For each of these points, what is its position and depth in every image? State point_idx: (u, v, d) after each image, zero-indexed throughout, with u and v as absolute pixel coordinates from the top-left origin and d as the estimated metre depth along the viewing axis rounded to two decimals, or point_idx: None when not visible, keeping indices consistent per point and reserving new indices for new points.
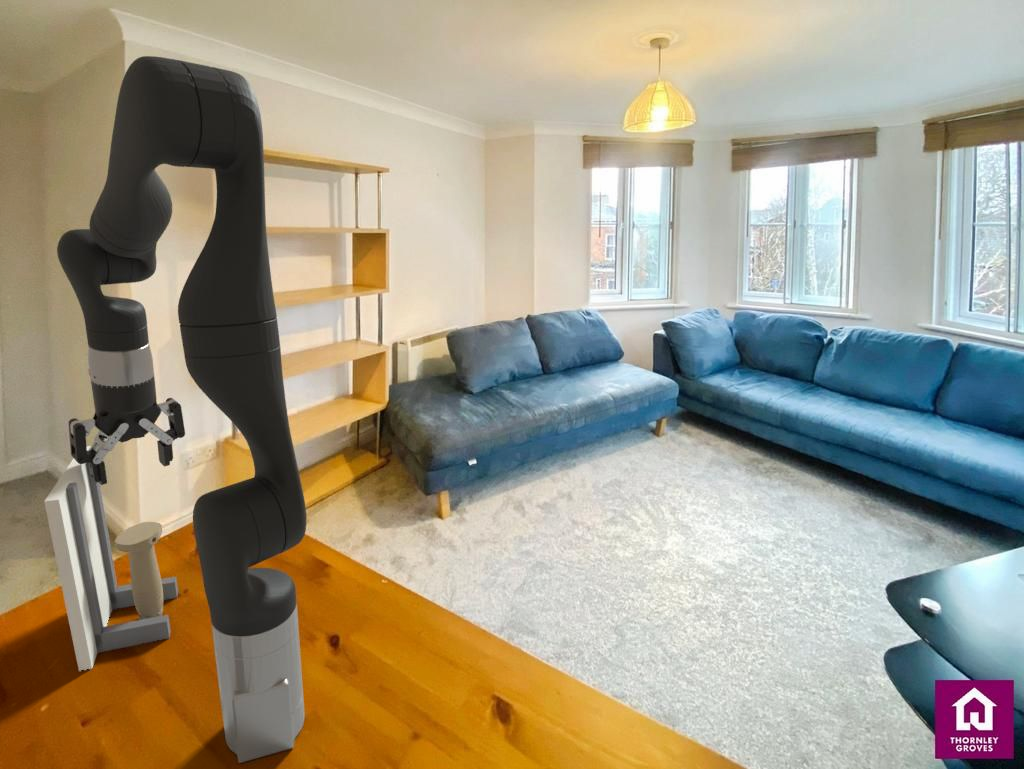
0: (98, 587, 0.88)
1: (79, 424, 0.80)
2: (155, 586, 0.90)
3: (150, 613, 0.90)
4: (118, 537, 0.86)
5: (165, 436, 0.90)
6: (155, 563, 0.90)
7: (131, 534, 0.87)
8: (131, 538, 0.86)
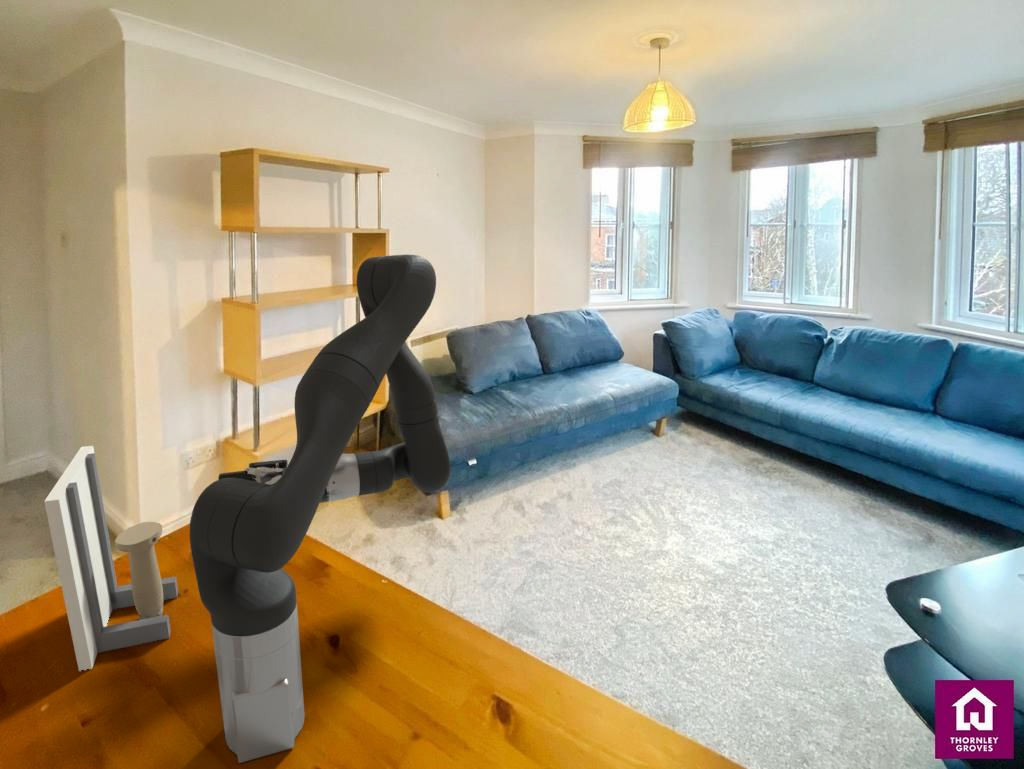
0: (98, 587, 0.88)
1: None
2: (155, 586, 0.90)
3: (150, 613, 0.90)
4: (118, 537, 0.86)
5: None
6: (155, 563, 0.90)
7: (131, 534, 0.87)
8: (131, 538, 0.86)
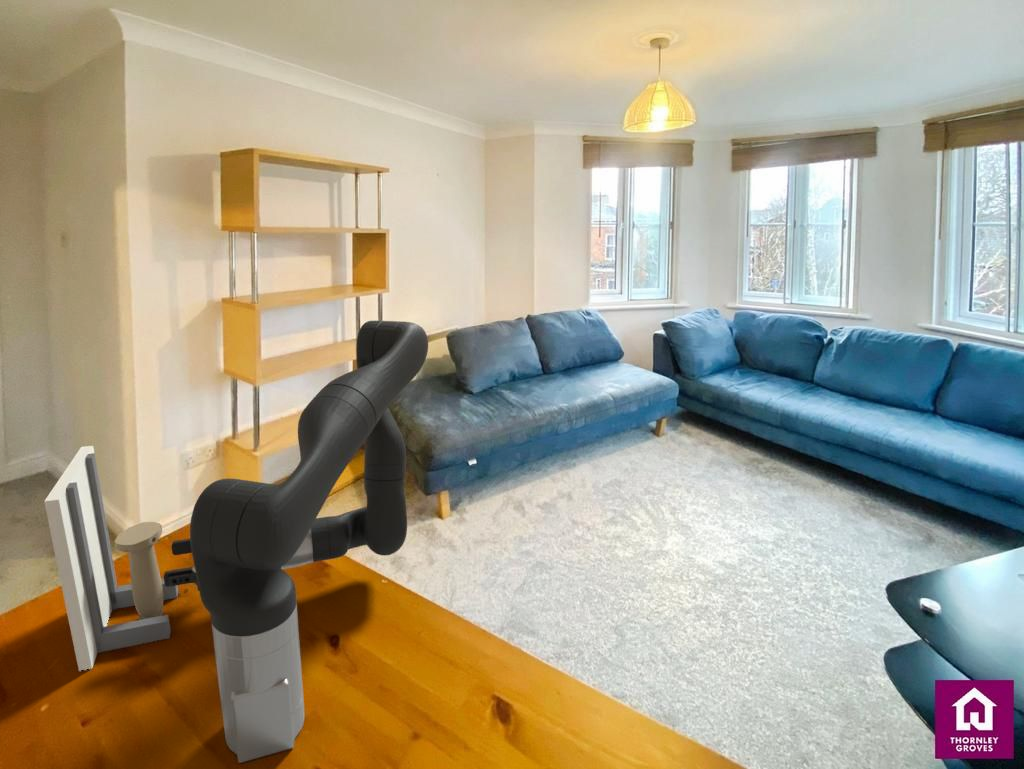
0: (98, 587, 0.88)
1: None
2: (155, 586, 0.90)
3: (150, 613, 0.90)
4: (118, 537, 0.86)
5: None
6: (155, 563, 0.90)
7: (131, 534, 0.87)
8: (131, 538, 0.86)
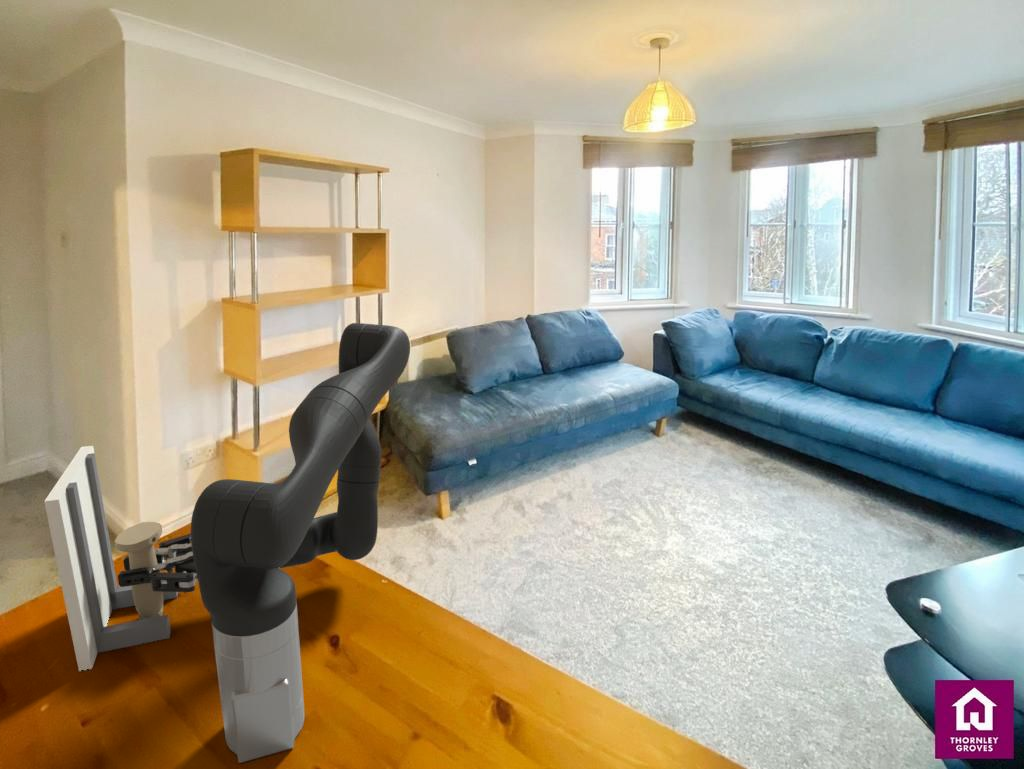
0: (98, 587, 0.88)
1: None
2: None
3: (150, 613, 0.90)
4: (118, 537, 0.86)
5: (160, 565, 0.88)
6: (155, 563, 0.90)
7: (131, 534, 0.87)
8: (131, 538, 0.86)
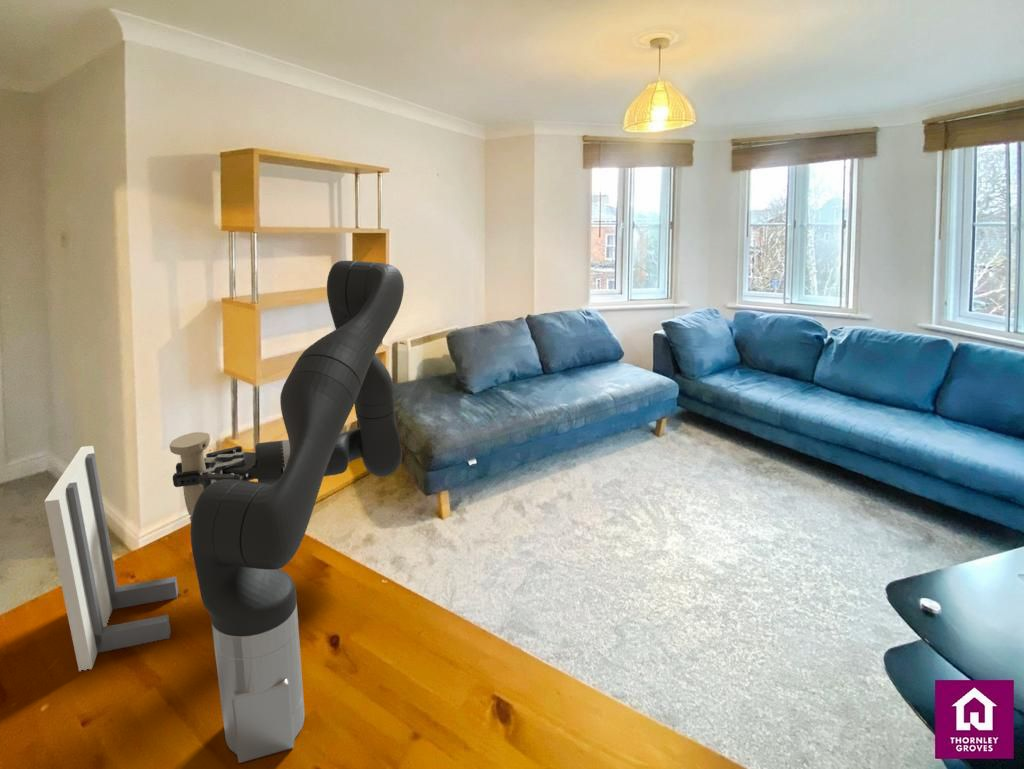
0: (98, 587, 0.88)
1: (241, 448, 1.07)
2: None
3: None
4: (172, 442, 0.96)
5: (209, 469, 0.98)
6: None
7: (183, 440, 0.97)
8: (184, 443, 0.96)
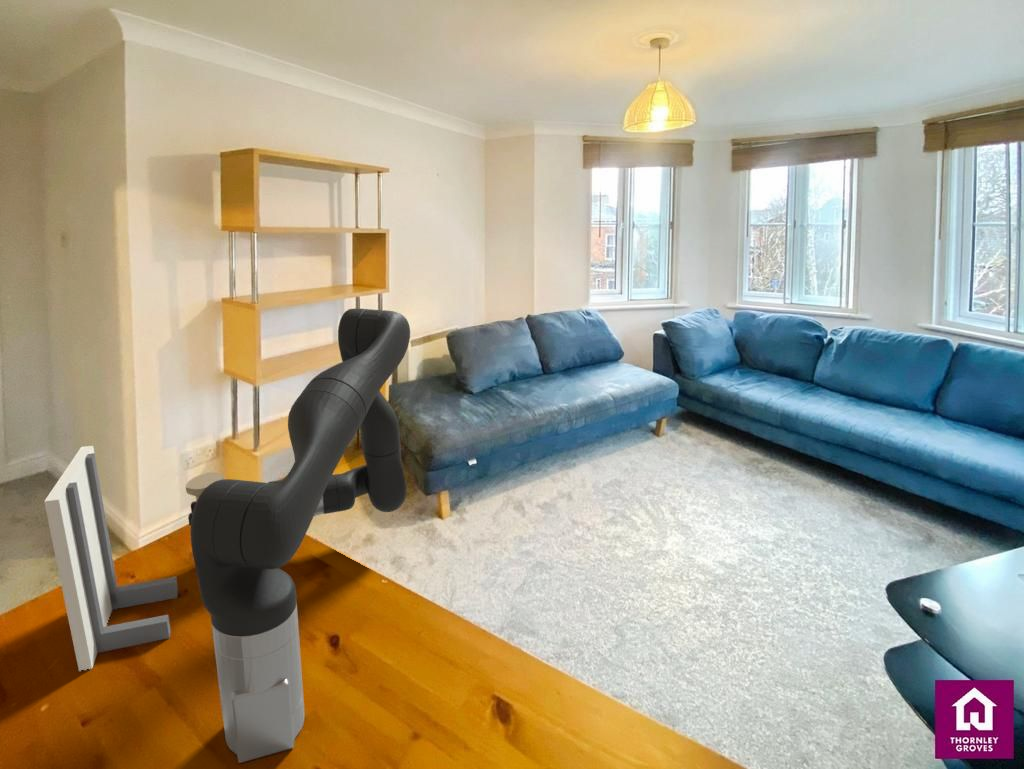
0: (98, 587, 0.88)
1: None
2: None
3: None
4: (188, 483, 1.01)
5: None
6: None
7: (198, 481, 1.02)
8: (199, 484, 1.00)
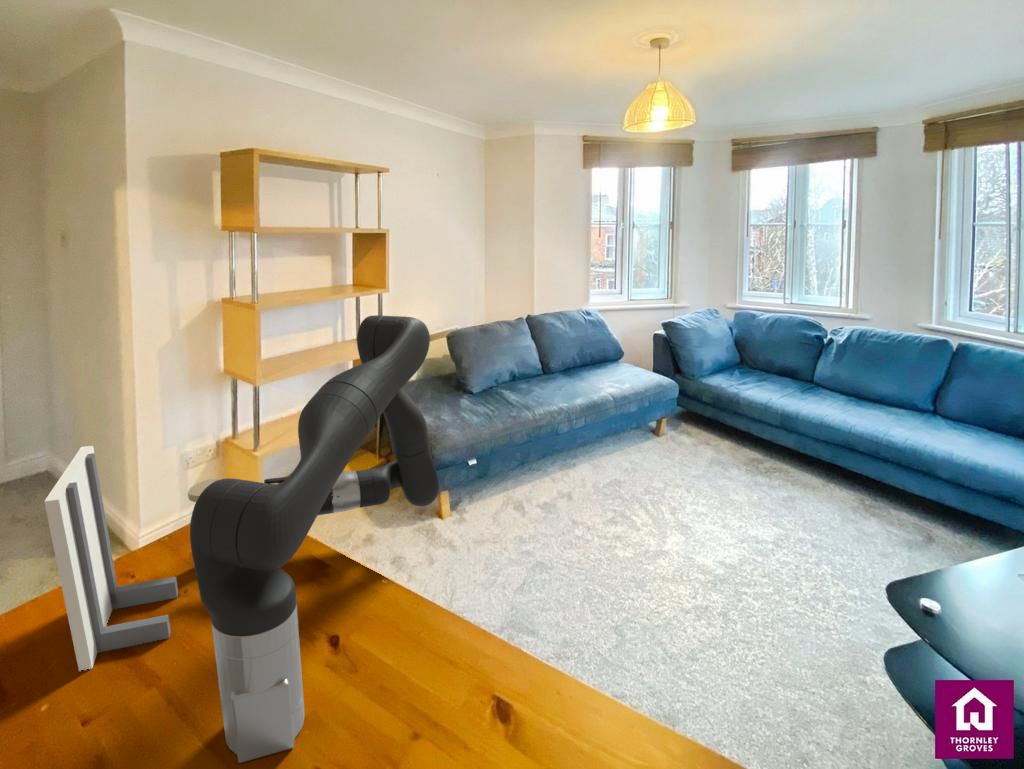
0: (98, 587, 0.88)
1: None
2: None
3: None
4: (190, 490, 1.01)
5: None
6: None
7: (201, 488, 1.02)
8: (201, 491, 1.01)
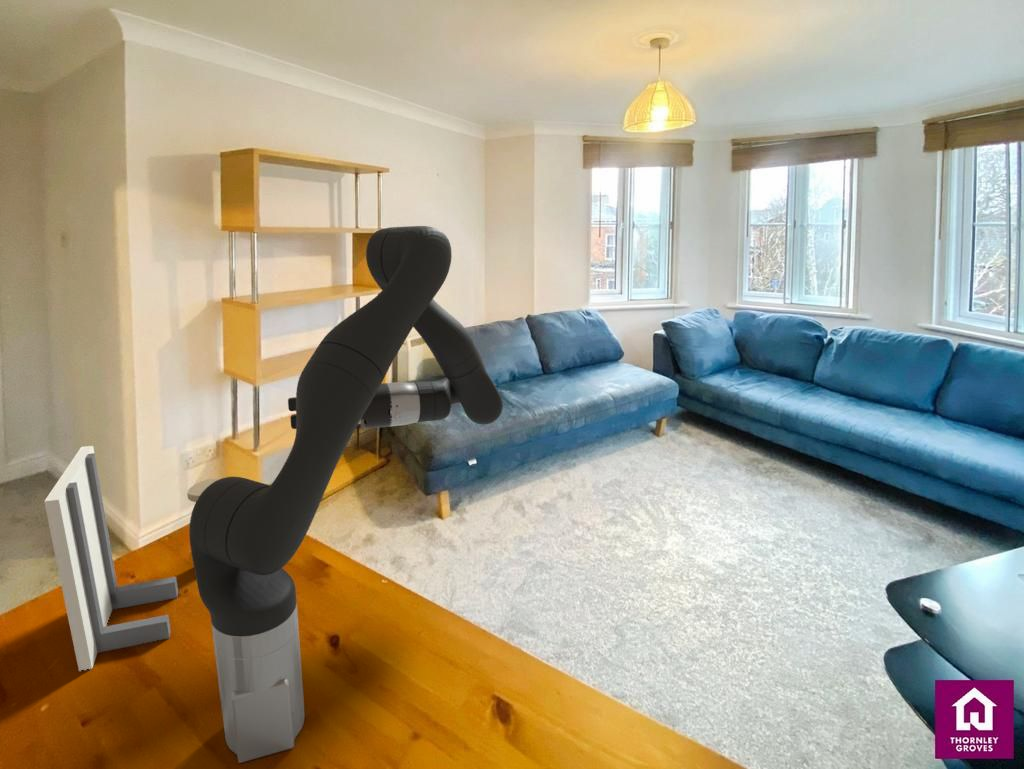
0: (98, 587, 0.88)
1: None
2: None
3: None
4: (189, 490, 1.01)
5: None
6: None
7: (200, 487, 1.02)
8: (201, 491, 1.01)
